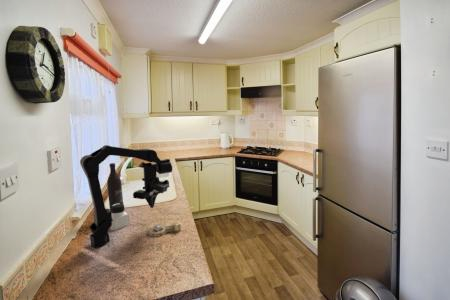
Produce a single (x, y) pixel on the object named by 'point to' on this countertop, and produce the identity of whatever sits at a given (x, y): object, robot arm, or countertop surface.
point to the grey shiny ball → (157, 228)
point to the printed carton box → (119, 217)
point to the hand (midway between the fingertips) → (152, 207)
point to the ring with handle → (164, 229)
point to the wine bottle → (114, 187)
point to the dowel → (176, 228)
